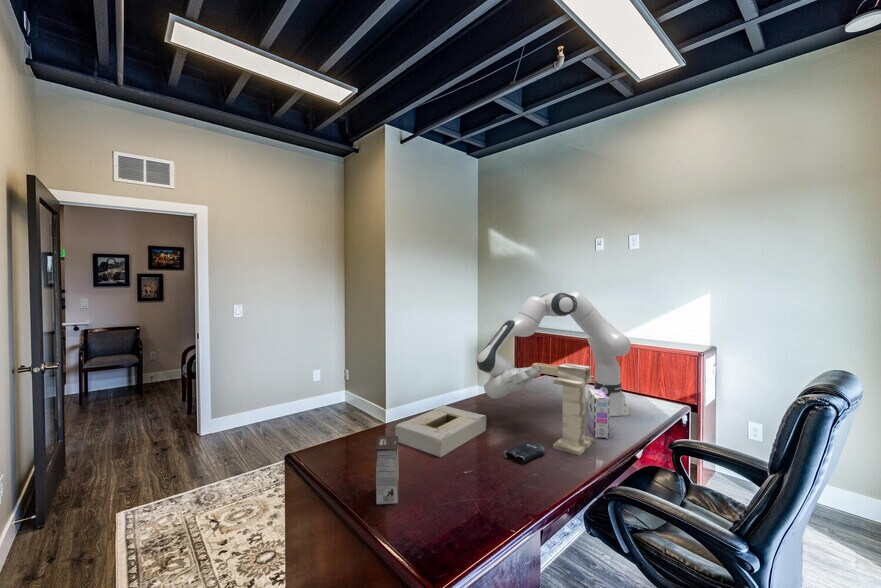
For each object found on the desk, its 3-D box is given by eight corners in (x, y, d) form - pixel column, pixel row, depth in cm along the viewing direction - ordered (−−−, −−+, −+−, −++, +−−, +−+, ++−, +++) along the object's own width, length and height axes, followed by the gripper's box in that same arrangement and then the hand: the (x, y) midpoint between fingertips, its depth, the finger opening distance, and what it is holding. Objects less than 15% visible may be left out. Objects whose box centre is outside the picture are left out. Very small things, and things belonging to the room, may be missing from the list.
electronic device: (526, 471, 131) (549, 451, 141) (523, 455, 131) (546, 437, 141) (505, 465, 138) (528, 447, 148) (502, 450, 138) (525, 433, 148)
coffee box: (378, 487, 118) (377, 435, 117) (399, 486, 118) (398, 434, 118) (375, 504, 109) (374, 448, 108) (398, 503, 109) (398, 447, 109)
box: (441, 460, 137) (487, 431, 163) (441, 438, 137) (486, 412, 163) (394, 444, 151) (443, 420, 177) (394, 425, 151) (442, 403, 177)
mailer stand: (568, 435, 156) (569, 361, 155) (593, 442, 150) (594, 364, 149) (553, 448, 145) (553, 367, 144) (579, 455, 139) (580, 371, 138)
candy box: (609, 439, 153) (609, 398, 152) (593, 438, 154) (594, 397, 153) (602, 426, 166) (602, 388, 166) (587, 425, 167) (588, 388, 167)
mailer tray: (535, 369, 159) (535, 362, 159) (580, 376, 147) (580, 368, 147) (530, 371, 156) (530, 364, 156) (575, 378, 144) (575, 370, 144)
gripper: (500, 376, 156) (527, 363, 148) (524, 367, 171) (549, 355, 163) (506, 391, 154) (534, 379, 146) (530, 381, 170) (556, 369, 162)
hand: (542, 366), depth 155 cm, fingers closed on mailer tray, 4 cm apart
